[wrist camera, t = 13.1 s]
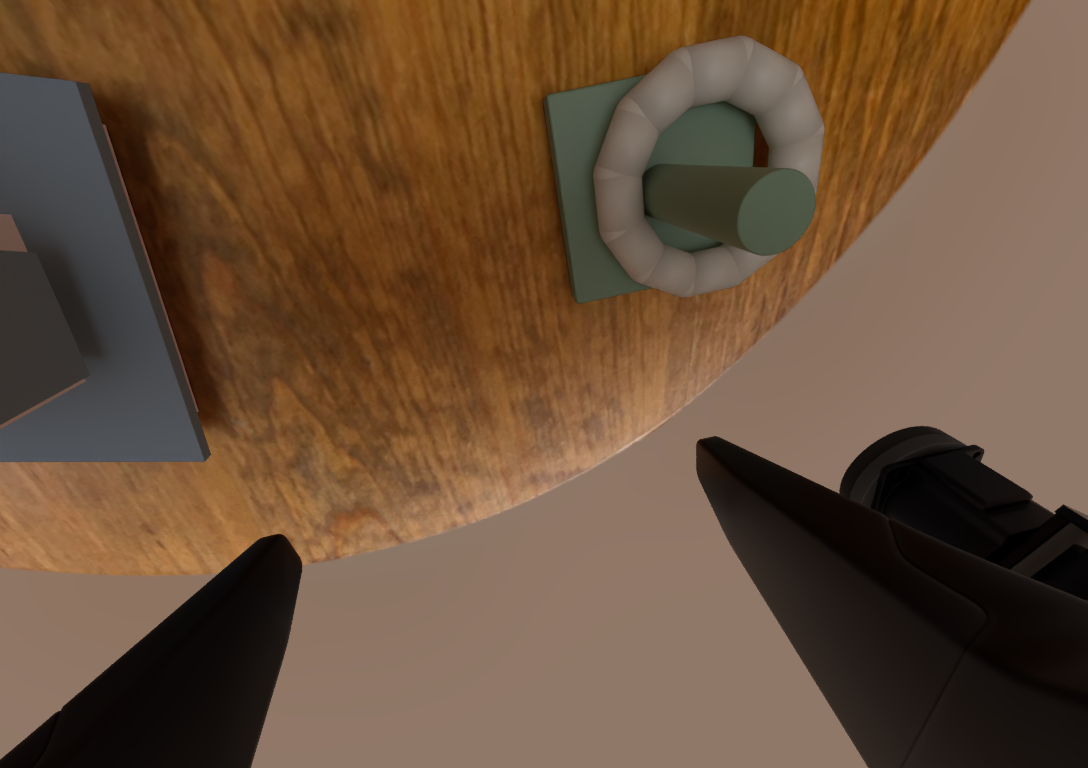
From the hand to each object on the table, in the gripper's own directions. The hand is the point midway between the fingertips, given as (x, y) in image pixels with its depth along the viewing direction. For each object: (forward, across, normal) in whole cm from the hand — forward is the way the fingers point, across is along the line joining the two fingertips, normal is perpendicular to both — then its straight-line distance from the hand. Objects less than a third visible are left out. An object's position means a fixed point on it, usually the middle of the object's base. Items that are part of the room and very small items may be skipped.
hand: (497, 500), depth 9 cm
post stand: (+12, -8, -4) cm, 15 cm away
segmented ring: (+10, -10, -4) cm, 15 cm away
